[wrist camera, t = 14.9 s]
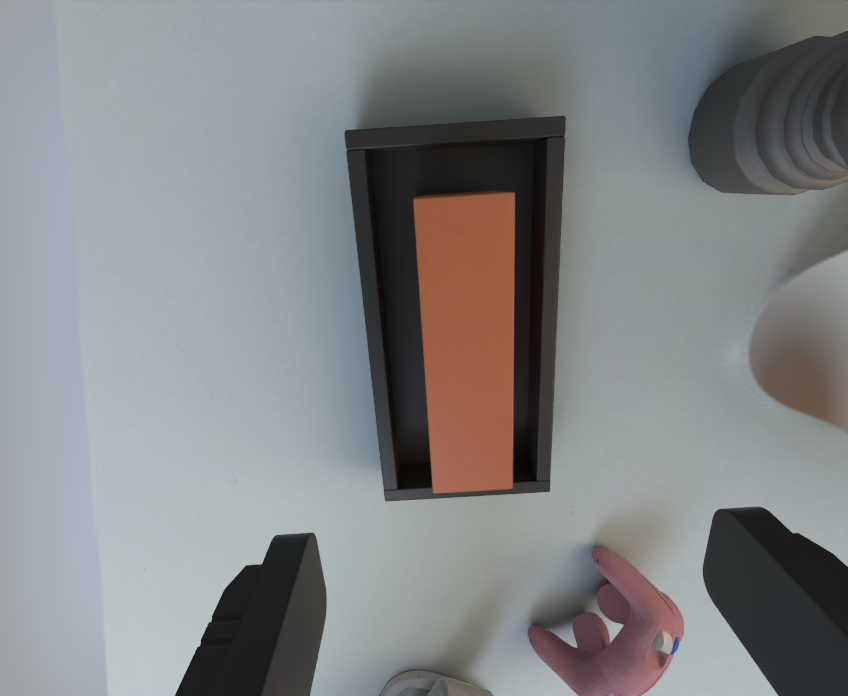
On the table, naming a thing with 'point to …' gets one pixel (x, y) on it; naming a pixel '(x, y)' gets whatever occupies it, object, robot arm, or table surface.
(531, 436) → the tray
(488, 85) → the table surface
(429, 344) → the rectangular block
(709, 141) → the candle holder
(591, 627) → the video game controller
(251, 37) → the table surface
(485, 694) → the network device
